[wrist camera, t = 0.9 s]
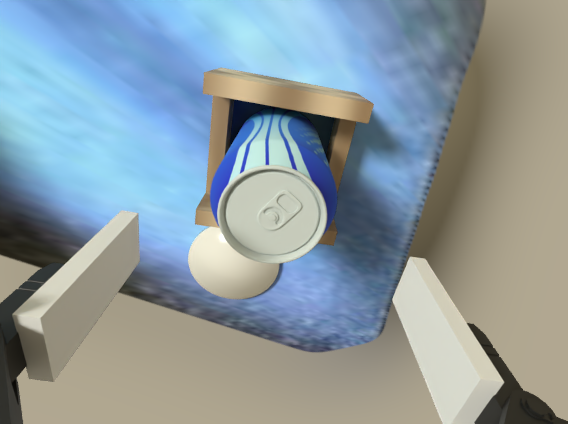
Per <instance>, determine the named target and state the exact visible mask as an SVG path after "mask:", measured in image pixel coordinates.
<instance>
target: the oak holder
mask: <svg viewBox="0 0 568 424" xmlns="http://www.w3.org/2000/svg"><path fill="white" fill-rule="evenodd" d="M203 94H208V95H213V103H212V116H211V130H210V144H209V158H208V171H207V185H206V193H205V195H204V197H203V198H202V200H201V202H200V204H199V205H198V207H197V209H196V218H195V224H197V225H203V226H210V227H216V228H219V226H218V224H217V222H216V221H215V218H214V216H213V213H212V209H211V203H210V190H211V184H212V181H213V178H214V175H215V173H216V171H217V169H218V167H219V165H220V164H221V162H222V160H223V159H224V157H225V155H226V153H227V152H228V150H229V148H230V138H231V128H232V118H233V108H234V99H236V100H241V101H247V102H252V103H258V104H263V105H269V106H274V107H280V108H285V109H291V110H296V111H302V112H307V113H313V114H318V115H324V116H329V117H335V119H334V123H333V128H332V132H331V136H330V140H329V144H328V149H327V153H326V158H327V161H328V164H329V167H330V170H331V172H332V175H333V178H334V181H335V184H336V189H337V193H338V189H339V185H340V181H341V178H342V174H343V170H344V166H345V163H346V159H347V155H348V151H349V148H350V144H351V140H352V137H353V133H354V129H355V125H356V122H362V123H369V119H370V116H371V112H372V109H373V105H374V104H373V103H371V102H370V101H368V100H367V99H365V98H364V97H362V96H360V95H359V94H357V93H354V92H348V91H343V90H338V89H333V88H327V87H322V86H317V85H311V84H306V83H301V82H295V81H290V80H285V79H279V78H274V77H269V76H263V75H258V74H253V73H247V72H242V71H237V70H231V69H226V68H218V69H215V70H211V71H208V72H204V84H203ZM336 235H337V229H336V225H335V221H334V218H333V221H332V223H331V225H330V226H329V228H328V230H327V231H326V232H325V234H324V235H323V236H322V237H321V239H320V240H319V242H318V243H320V244H327V245H333V246H334V242H335V239H336Z"/></svg>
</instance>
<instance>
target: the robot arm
mask: <svg viewBox="0 0 568 424" xmlns="http://www.w3.org/2000/svg"><path fill="white" fill-rule="evenodd" d="M139 262H140V259H139V224H138V213H134V212H128V211H120V212H119V213H118V214H117V215H116V216H115V217H114V218H113V219H112V220H111V221H110V222H109V223H108V224H107V225H106V226H105V227H104V228H103V229H101V230H100V231H99V232H98V233H97V234H96V235H95V236H94V237H93V238H92V239H91V240H90V241H89V242H88V243H87V244H86V245H85V246H84V247H83V248H81V249H80V250H79V251H78V252H77V253H76V254H75V255H74V256H73V257H72V258H71V259H70V260H69V261H68V262H67V263H66V264H59V263H52V264H50V265H48V266H46V267H44V268H42V269H40V270H38V271H37V272H36V273H35V274H34V275H32V276H31V277H30V278H29V279H28V281H27V282H24V283H23V284H22V285H21V286H20V287H19V289H16V290H15V291H14V292H13V293H12V294H11V295H9V297H7V298H6V299H5V300H4V301H3V302H1V304H0V424H23V420H22V411H21V404H20V395H19V388H18V382H17V376H18V375H19V374H20V373H21V372H22V371H23V369H24V368H25V367H26V369H27V373H28V377H29V379H35V380H43V381H51V382H54V381H55V379H56V378H57V377H58V375H59V373H60V372H61V371H62V370H63V368H64V367H65V365H66V364H67V363H68V361H69V360H70V358H71V357H72V356H73V354H74V353H75V351H76V350H77V349H78V347H79V346H80V344H81V343H82V342H83V340H84V339H85V337H86V336H87V334H88V333H89V332H90V330H91V329H92V327H93V326H94V325H95V323H96V322H97V320H98V319H99V318H100V316H101V315H102V313H103V312H104V311H105V309H106V308H107V306H108V305H109V304H110V302H111V301H112V299H113V298H114V297H115V295H116V294H117V292H118V291H119V290H120V288H121V287H122V285H123V284H124V283H125V281H126V280H127V278H128V277H129V276H130V274H131V273H132V271H133V270H134V269H135V267H136V266H137V264H138V263H139ZM392 300H393V303H394V305H395V308H396V310H397V313H398V315H399V317H400V320H401V322H402V325H403V327H404V330H405V332H406V335H407V337H408V340H409V342H410V344H411V347H412V350H413V352H414V354H415V357H416V359H417V362H418V364H419V367H420V369H421V372H422V374H423V377H424V379H425V381H426V384H427V387H428V389H429V391H430V394H431V396H432V398H433V401H434V404H435V406H436V408H437V411H438V414H439V416H440V419H441V421H442V423H443V424H568V421H566V420H563V419H560V418H558V417H556V416H555V414H554V412H553V411H552V409H551V408H549V406H548V405H547V404H546V403H545V402H543V401H542V400H541V399H539V398H538V397H537V396H535V395H533V394H531V393H529V392H527V391H523V389H522V388H521V387H520V385H519V383H518V382H517V381H516V379H515V378H514V376H513V375H512V373H511V372H510V371H509V369H508V367H507V366H506V364H505V363H504V361H503V360H502V359H501V357H499V354H498V353H497V351H496V350H495V348H493V345H492V344H491V342H490V341H489V339H488V338H487V337H486V335H485V334H484V333H483V332H482V331H480V329H478V328H477V327H476V326H475V325H474V324H469V323H466V322H465V320H464V319H463V317H462V316H461V314H460V312H459V311H458V309H457V308H456V306H455V305H454V303H453V302H452V300H451V298H450V297H449V295H448V294H447V293H446V291H445V289H444V287H443V286H442V284H441V283H440V281H439V280H438V278H437V277H436V275H435V273H434V272H433V271H432V269H431V267H430V266H429V264H428V263H427V261H426V260H425V259H422V258H416V257H410V258H409V260H408V263H407V265H406V268H405V270H404V272H403V275H402V277H401V280H400V282H399V284H398V287H397V289H396V292H395V294H394V296H393V299H392Z"/></svg>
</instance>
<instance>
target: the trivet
mask: <svg viewBox="0 0 568 424" xmlns="http://www.w3.org/2000/svg"><path fill="white" fill-rule="evenodd" d="M188 263H189V268H190V270H191V273H192V275H193V277H194V278H195V279H196V281H197V282H198V283H199V284H200V285H201V286H202V287H203V288H204V289H206V290H207V291H209V292H211V293H213V294H215V295H217V296H220V297H224V298H229V299H246V298H250V297H254V296H256V295H259V294H261V293H262V292H264V291H265V290H267V289H268V288H269V287H270V286H271V285H272V284H273V282H274V281H275V279H276V277H277V274H278V271H279V264H268V263H261V262H257V261H254V260H251V259H249V258H246V257H244V256H243V255H241V254H240V253H238V252H237V251H236V250H234V249H233V248H232V247H231V246H230V245H229V244H228V242H227V241H226V240H225V238H224V236H223V234H222V233H221V230H220V228H216V227H208V228H206V229H204V230H203V231H202V232H201V233H200V234H199V235H198V236H197V237H196V238H195V240H194V241H193V243H192V245H191V247H190V251H189V256H188Z"/></svg>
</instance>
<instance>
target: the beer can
mask: <svg viewBox="0 0 568 424" xmlns="http://www.w3.org/2000/svg"><path fill="white" fill-rule="evenodd" d="M210 203H211V209H212V213H213V216H214V218H215V221H216V222H217V224H218V226H219V228H220V230H221V233H222V234H223V236H224V238H225V240H226V241H227V242H228V244H229V245H230V246H231V247H232V248H233V249H234V250H236V251H237V252H238V253H240V254H241V255H243V256H244V257H246V258H249V259H251V260H254V261H257V262H261V263H268V264H279V263H285V262H290V261H293V260H295V259H298V258H300V257H302V256H304V255H305V254H307V253H308V252H309V251H311V250H312V249H313V248H314V247H315V246H316V244H317V243H318V242H319V240H320V239H321V237H322V236H323V235H324V234H325V232H326V231H327V230H328V228H329V226H330V225H331V223H332V221H333V218H334V215H335V212H336V207H337V189H336V184H335V181H334V178H333V175H332V172H331V170H330V167H329V164H328V161H327V158H326V155H325V153H324V150H323V147H322V144H321V141H320V139H319V136H318V133H317V131H316V129H315V127H314V126H313V124H312V123H311V122H310V121H309V120H308V119H307V118H306V117H305V116H304V115H302V114H301V113H299V112H297V111H295V110H291V109H285V108H280V107H271V108H267V109H264V110H261V111H259V112H257V113H255V114H254V115H252V116H251V117H250V118H249V119H248V120H247V121H246V122H245V123H244V125H243V126H242V128H241V129H240V131H239V133H238V135H237V136H236V138H235V140H234V141H233V143H232V145H231V147H230V148H229V150H228V152H227V153H226V155H225V157H224V159H223V160H222V162H221V164H220V165H219V167H218V169H217V171H216V173H215V175H214V178H213V181H212V184H211V190H210Z"/></svg>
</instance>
